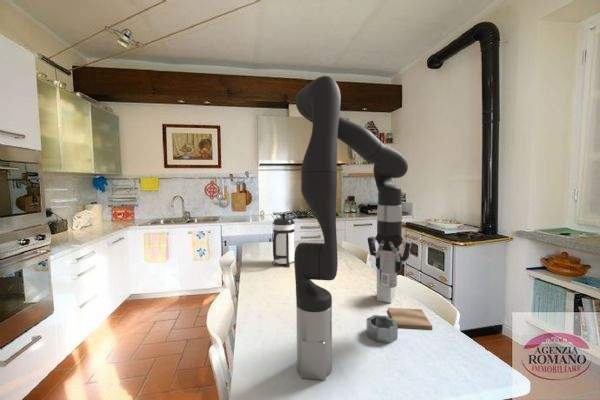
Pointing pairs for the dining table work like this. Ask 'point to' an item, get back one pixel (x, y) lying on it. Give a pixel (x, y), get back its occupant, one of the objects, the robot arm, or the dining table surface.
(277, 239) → the coffee press
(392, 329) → the metal collar
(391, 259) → the energy drink
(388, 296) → the skincare box
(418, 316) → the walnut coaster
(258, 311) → the dining table surface
